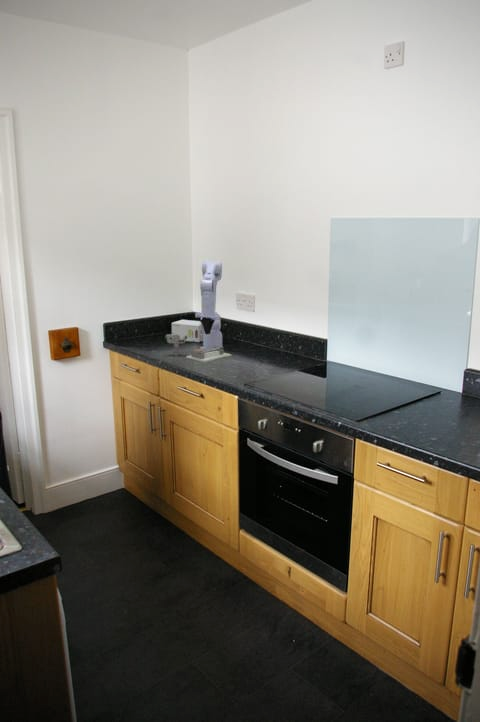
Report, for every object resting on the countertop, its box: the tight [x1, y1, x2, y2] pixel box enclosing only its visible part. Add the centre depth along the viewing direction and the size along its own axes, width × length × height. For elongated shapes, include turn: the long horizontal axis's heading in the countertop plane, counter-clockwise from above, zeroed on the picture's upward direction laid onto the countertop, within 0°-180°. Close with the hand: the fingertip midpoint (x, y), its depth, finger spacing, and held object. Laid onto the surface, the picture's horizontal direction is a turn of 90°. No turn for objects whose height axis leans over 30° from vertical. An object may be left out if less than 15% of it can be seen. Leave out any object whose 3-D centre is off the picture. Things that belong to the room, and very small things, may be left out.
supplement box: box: [171, 319, 203, 343], centre depth 318 cm, size 17×13×9 cm
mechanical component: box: [164, 333, 187, 357], centre depth 276 cm, size 3×10×10 cm, turn 89°
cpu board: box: [186, 348, 232, 363], centre depth 275 cm, size 18×12×4 cm, turn 138°
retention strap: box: [193, 346, 223, 353], centre depth 274 cm, size 14×4×1 cm, turn 138°
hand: (207, 333), depth 277 cm, fingers closed
